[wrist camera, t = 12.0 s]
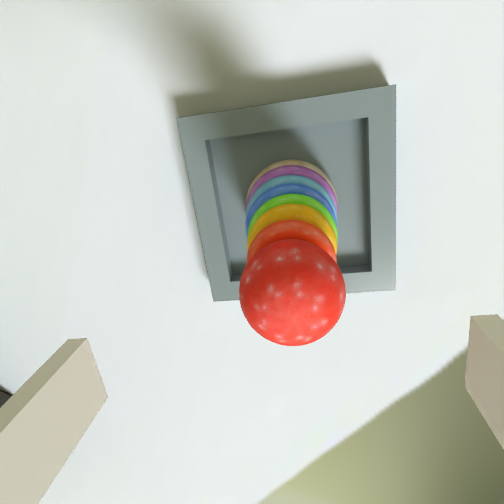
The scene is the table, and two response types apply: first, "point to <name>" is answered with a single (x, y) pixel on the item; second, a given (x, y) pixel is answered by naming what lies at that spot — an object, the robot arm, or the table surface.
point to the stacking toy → (292, 254)
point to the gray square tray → (309, 150)
